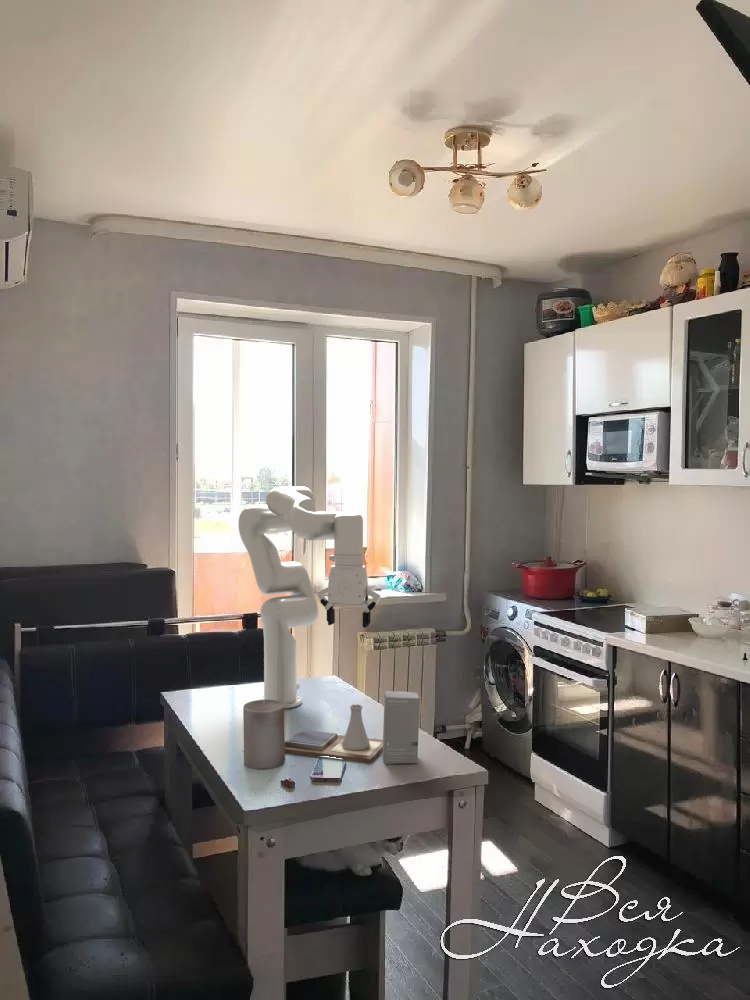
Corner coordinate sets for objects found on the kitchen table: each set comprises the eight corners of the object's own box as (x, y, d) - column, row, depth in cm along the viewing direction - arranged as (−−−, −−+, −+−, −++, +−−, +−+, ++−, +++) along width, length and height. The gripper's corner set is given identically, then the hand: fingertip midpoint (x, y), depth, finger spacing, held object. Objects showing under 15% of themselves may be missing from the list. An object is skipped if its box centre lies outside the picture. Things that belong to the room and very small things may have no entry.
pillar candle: (265, 752, 199) (264, 691, 198) (293, 761, 193) (292, 698, 192) (235, 763, 191) (234, 700, 191) (263, 773, 185) (262, 708, 185)
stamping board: (300, 734, 212) (300, 726, 212) (388, 744, 205) (388, 736, 205) (277, 751, 199) (277, 743, 199) (370, 763, 191) (370, 754, 191)
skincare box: (383, 764, 191) (384, 698, 190) (382, 754, 198) (382, 689, 197) (419, 764, 191) (420, 697, 190) (416, 753, 198) (417, 689, 198)
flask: (373, 742, 203) (373, 702, 203) (367, 752, 196) (367, 711, 196) (345, 740, 204) (345, 701, 204) (338, 750, 197) (338, 709, 197)
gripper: (312, 560, 212) (312, 626, 213) (375, 563, 207) (375, 630, 207) (323, 558, 219) (323, 621, 220) (384, 560, 214) (384, 625, 214)
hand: (348, 625), depth 213 cm, fingers open, 9 cm apart
